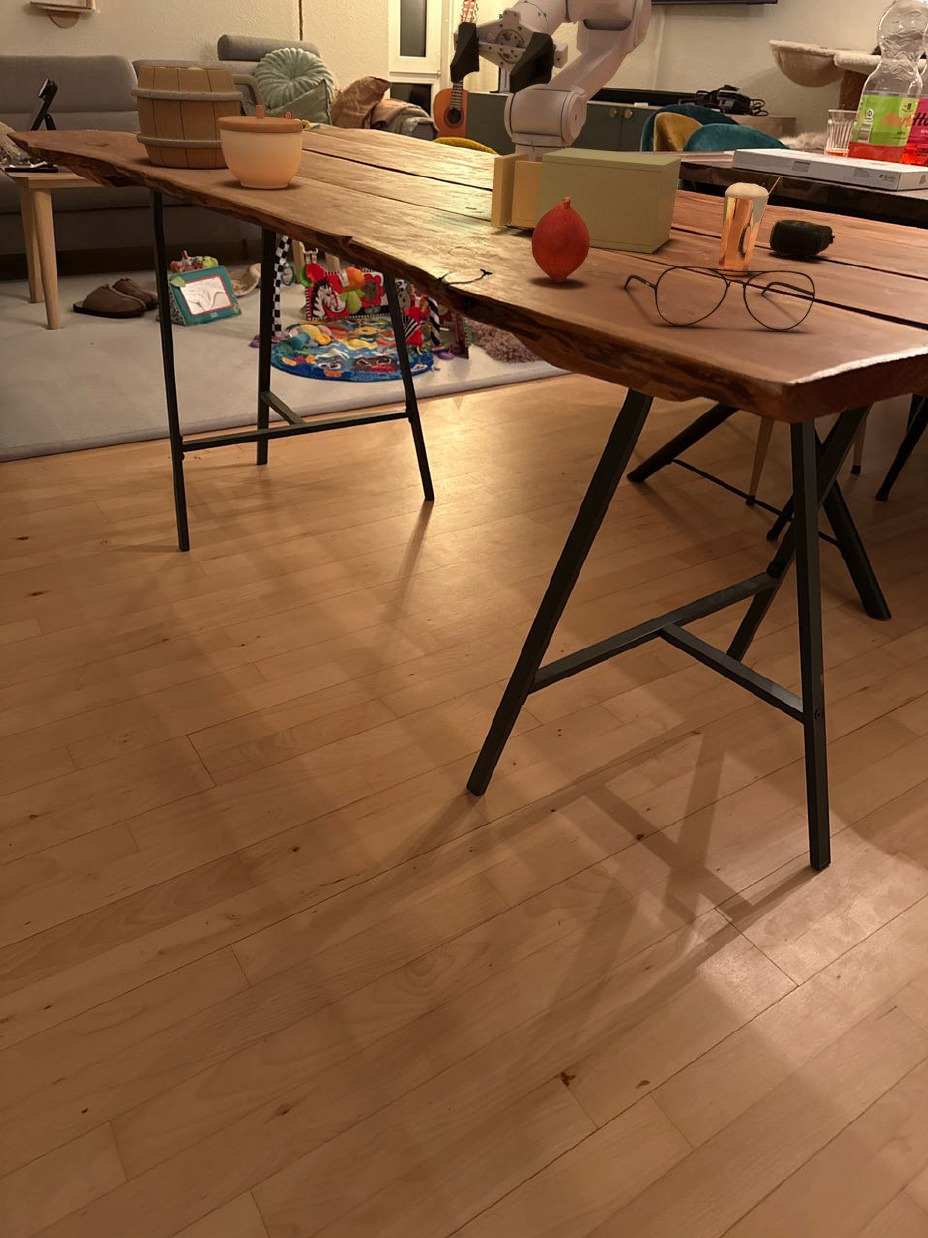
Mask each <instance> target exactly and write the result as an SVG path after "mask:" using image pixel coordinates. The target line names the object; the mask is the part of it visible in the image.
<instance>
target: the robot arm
mask: <svg viewBox="0 0 928 1238" xmlns="http://www.w3.org/2000/svg"><path fill="white" fill-rule="evenodd" d="M651 17H652V0H518V1H517V2H516V3H515V4H514V5H513V6H512V7H506V8H505V9H504V10H502V17H501V18H497V19H494V20H490V21H486V22H483V23H480V24H477V23H476V22H471V21H462V22H461V23H459V24H458V27H457V29H456V30H455V31H454V32H453V33H452V35H453V37H452V38H453V39H452V40H453V50H454V51H455V52H454V55H453V58H452V59H451V62H450V64H449V76H450V82H451V83H454V84H458V83H460V82H461V81H463V80H464V78H465V77H466V76H468V75H470V74H472V73H479V72H480V70H481V69H480V68H481V67H480V57H481V58H483V59H484V60H487V62H490V63H491V64H493V65H495V66H497V67H498V68H500V69H502V70H503V71H505V72H508V73H509V75H508V93H509V94H508V96H507V98H506V101H505V105H504V114H503V115H504V116H503V117H504V120H503V121H504V127H505V129H506V132H507V134H508V136H509V137H510V138H511V143H515V151H514V153H518V152H529V161H530V162H535V159H536V156H542V154H546V153H550V152H554V151H558V150H562V149H566V148H568V147H570V146H572V143H574V142H575V141H576V139H577V138H578V137H579V135H580V133H581V131H582V127H583V126H584V125H585V124H586V121H587V109H588V106H587V105H588V104H587V103H588V101H590V100H591V99H592V98H593V97H594V96H595V95H596V94H597V93H598V92H599V91H600V90H601V89H602V88H604V86H606V85H607V83H609V82H610V81H611V80H612V79H613V77H614V76H615V75H616V73H617V72H618V70H619V68H620V66H621V65H622V64H623V62H624V60H625V59H626V57H627V56H628V55H629V54H631V53H633V52H634V51H635V50H636V49H637V48H638V47H639V46H640V45H641V44H642V43H644V41H645V39H646V38H647V37H646V36H647V32H648V29H649V26H650V22H651ZM571 23H573V25H576V24H577V31H576V50H577V51H578V52H579V53H581V54H580V55H579V56H578V57H576V58H575V59H574V60H573V61H571V62H570V63H569V64H568V65H566V64H567V62H568V59H569V58H568V57H569V44H568V43H564V42H560V41H558V40H556V39H554V38H553V37H552V36H553V35H554V33H555V32H556V31H557V30H558V29H559V27H560V26H561V25H562V24H571ZM565 65H566V67H564V66H565ZM554 68H556V69H562V70H561V71H559V72H558V73H557V74H556V75H555V76H554V77H552V76H553V69H554Z"/></svg>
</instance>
